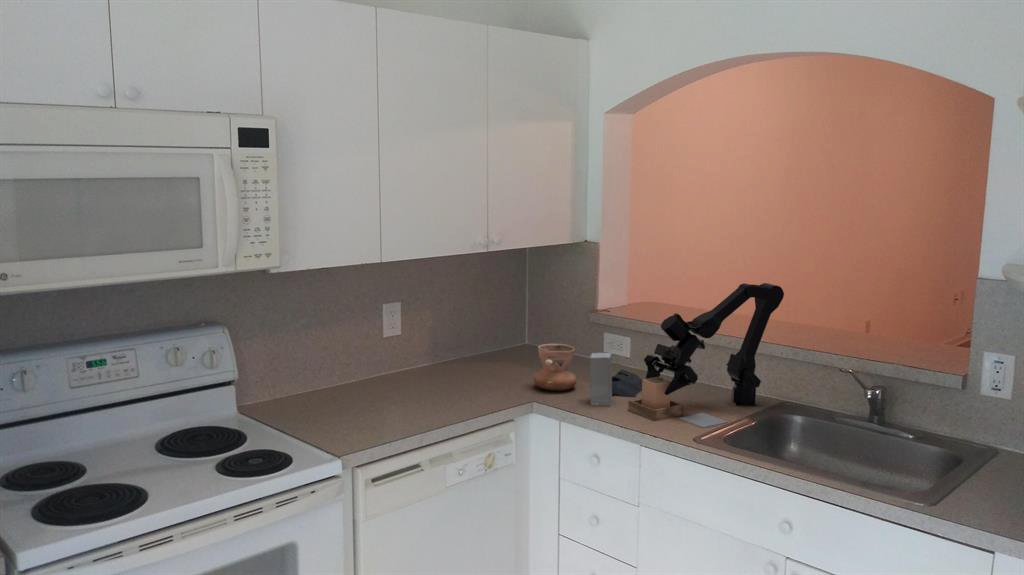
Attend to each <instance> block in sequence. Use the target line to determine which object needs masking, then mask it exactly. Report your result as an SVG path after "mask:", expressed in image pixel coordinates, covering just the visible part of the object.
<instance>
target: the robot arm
mask: <svg viewBox="0 0 1024 575" xmlns="http://www.w3.org/2000/svg"><path fill="white" fill-rule="evenodd" d="M784 296H785V292H784V289H783V288H782V287H781V286H779V285H777V284H771V283H767V282H763V283H761V284H748V283H745V282H744V283H741V284H739V285H738V287H737V288H736V289H734V290H733V292H731V293H730V294H729V295H728V296H727V297H725V298H724V299H723V300H722V301H721V302H720V303H719V304H717V305H716V306H715V307H714V308H713V309H711V310H709V311H706V312H703V313H701V314H699V315H697V316H696V317H694V318H693V319H692V320H690V321H685V320H684V318H683V317H682V316H681V315H680V314H679V313H676V312H675V313H674V314H672V315H671V316H668V317H667V318H665V319H664V320H663V321H662V323H661V325H660V328H661V330H662V331H663V332H664V334H666V335H667V336H668V337H669V339H671V340H672V341H673V342H677V343H676V344H675V345H671V346H668V345H663V344H660V343H656V346H655V349H654V352H653V354H646V356H645V358H643V361H644V363H645V365H646V367H647V370H646V376H645V379H647V378H653V377H659V378H660V376H661V373H663V372H664V371H667V372H671V373H674V374H673V378H672V379H671V380H670V381H671V383H670V384H669V386H668V387H667V389H666V391H665V395H668V394H670V395H671V393H674V392H676V391H678V390H680V389H682V388H684V387H687V386H690V385H691V384H692V385H695V384H696V382H697V381H698V379H699V376H698V374H697V373H696V371H695V370H694V369H693V367H691V366H690V365H687V364H691V362H693V361H692V359H691V357H692V356H693V355H694V353H695V352H696V350H697V349H700V350H705V349H706V345H705V340H704V339H711V338H712V337H714V335H715V334H716V333H717V332H718V331H719V329H720V328H721V325H722V323H723V322H724V321H725V320H726V319H727V318H728V317H730V315H732V314H733V313H734V312H735V311H736V310H737V309H739V308H740V307H741V306H742V305H744V304H745V303H746V302H747V301H748V300H749V299H751V298H754V306H755V308H754V312H753V315H752V317H751V319H750V323H749V326H748V327H747V329H746V330H747V331H746V333H745V336H744V337H743V338H744V339H743V341H742V344H741V346H740V349H739V351H738V352H737V353H736V354H734V353H731V354H730V355H729V359H728V362H726V372H727V374H728V376H729V377H730V380H731V382H733V387H731V400H732V402H733V403H734V404H735V406H747V407H749V406H753V407H754V406H755V407H756V406H757V403H756V397H757V396H756V395H757V388H759V387H760V385H761V383H762V380H761V379H760V378H759V377H758V376H757V375H756V373H755V371H756V365H757V364H756V353H757V351H758V350H759V346H760V343H761V340H762V338H763V337H764V336H763V335H764V334H765V333H764V332H765V330H766V328H767V325H768V323H769V320H770V318H771V315H772V313H774V311H775V310H777V309H778V308H779V306H780V305H781V303H782V301H783V300H784ZM698 337H701V338H703V339H700V338H698ZM654 354H655V355H654ZM657 355H658V356H660V357H658V356H657Z"/></svg>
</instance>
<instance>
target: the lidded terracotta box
mask: <svg viewBox="0 0 1024 575" xmlns="http://www.w3.org/2000/svg"><path fill="white" fill-rule="evenodd" d="M671 381H672V380H668V379H666V378H662V377H660V376H659V377H653V378H647V379H646V378H643V379H642V391H641V398H642V405H644V406H646V407H649V408H652V409H654V410H656V409H661V408H666V407H670V400H671V393H670V394H668V395H665V391H666V389H667V387H668V386H669V384H670V383H671Z"/></svg>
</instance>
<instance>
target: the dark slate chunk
mask: <svg viewBox="0 0 1024 575" xmlns="http://www.w3.org/2000/svg"><path fill="white" fill-rule="evenodd" d="M642 380H643V379H642V378H641V377H640V376H639V375H637V374H636V373H634V372H631V371H628V370H625V369H620V370H619V371H617V373H616V374H615V375H612V396H615V395H616V397H617V396H618V397H624V398H625V397H626V398H637V395H638V394H639V393H640V392H642Z"/></svg>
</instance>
